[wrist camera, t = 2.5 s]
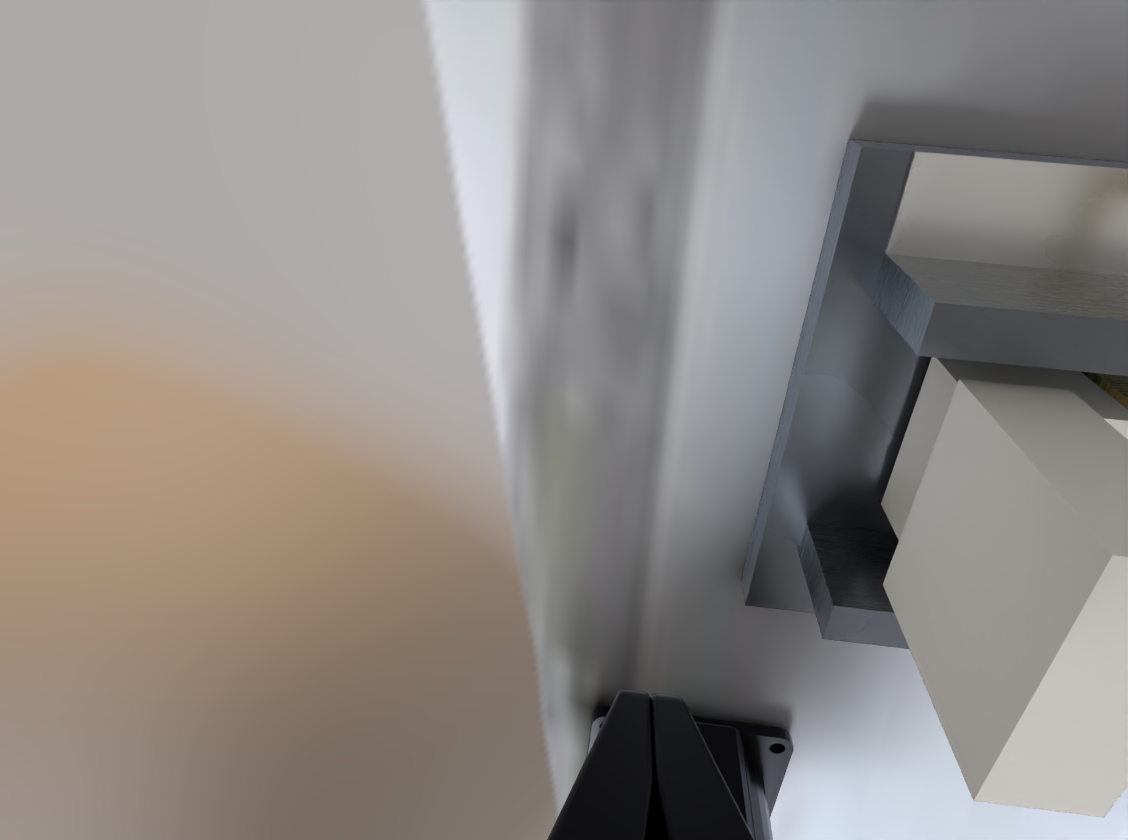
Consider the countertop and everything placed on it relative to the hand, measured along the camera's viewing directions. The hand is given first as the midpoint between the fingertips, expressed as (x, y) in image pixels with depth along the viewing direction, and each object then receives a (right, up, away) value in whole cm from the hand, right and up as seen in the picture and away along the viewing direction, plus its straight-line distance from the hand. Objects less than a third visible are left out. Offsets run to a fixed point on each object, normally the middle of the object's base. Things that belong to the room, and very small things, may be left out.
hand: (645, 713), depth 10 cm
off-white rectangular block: (+8, +3, +7) cm, 11 cm away
